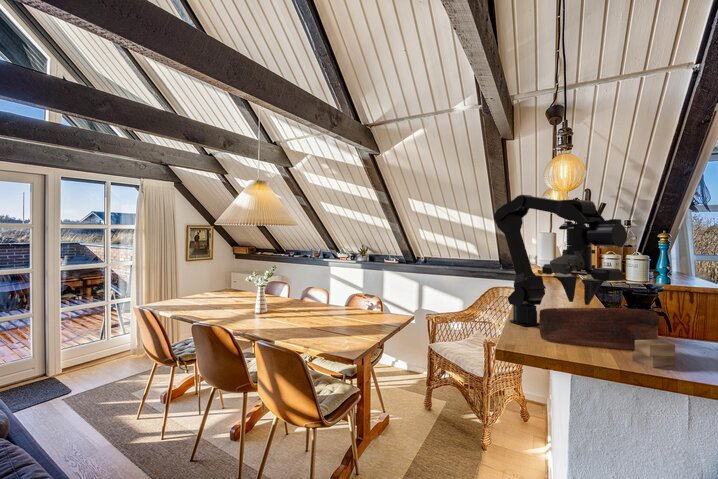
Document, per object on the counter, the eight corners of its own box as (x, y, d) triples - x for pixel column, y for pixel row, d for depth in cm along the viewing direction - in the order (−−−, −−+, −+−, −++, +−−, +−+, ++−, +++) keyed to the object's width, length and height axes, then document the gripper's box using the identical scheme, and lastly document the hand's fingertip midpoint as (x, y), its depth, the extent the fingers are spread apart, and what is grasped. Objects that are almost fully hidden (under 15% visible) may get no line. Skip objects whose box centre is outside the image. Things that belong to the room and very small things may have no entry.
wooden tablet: (540, 342, 88) (540, 304, 88) (538, 340, 90) (538, 303, 90) (663, 353, 79) (662, 311, 80) (658, 350, 81) (657, 310, 82)
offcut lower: (632, 362, 74) (632, 351, 74) (654, 359, 76) (654, 348, 76) (652, 369, 70) (652, 357, 70) (675, 365, 72) (675, 354, 72)
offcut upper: (634, 351, 74) (634, 340, 74) (658, 350, 75) (658, 339, 75) (649, 356, 71) (649, 345, 71) (674, 355, 71) (675, 344, 71)
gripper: (528, 245, 95) (527, 299, 95) (593, 247, 78) (593, 312, 78) (556, 245, 99) (555, 296, 99) (624, 246, 81) (624, 309, 81)
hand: (578, 303), depth 89 cm, fingers open, 4 cm apart
